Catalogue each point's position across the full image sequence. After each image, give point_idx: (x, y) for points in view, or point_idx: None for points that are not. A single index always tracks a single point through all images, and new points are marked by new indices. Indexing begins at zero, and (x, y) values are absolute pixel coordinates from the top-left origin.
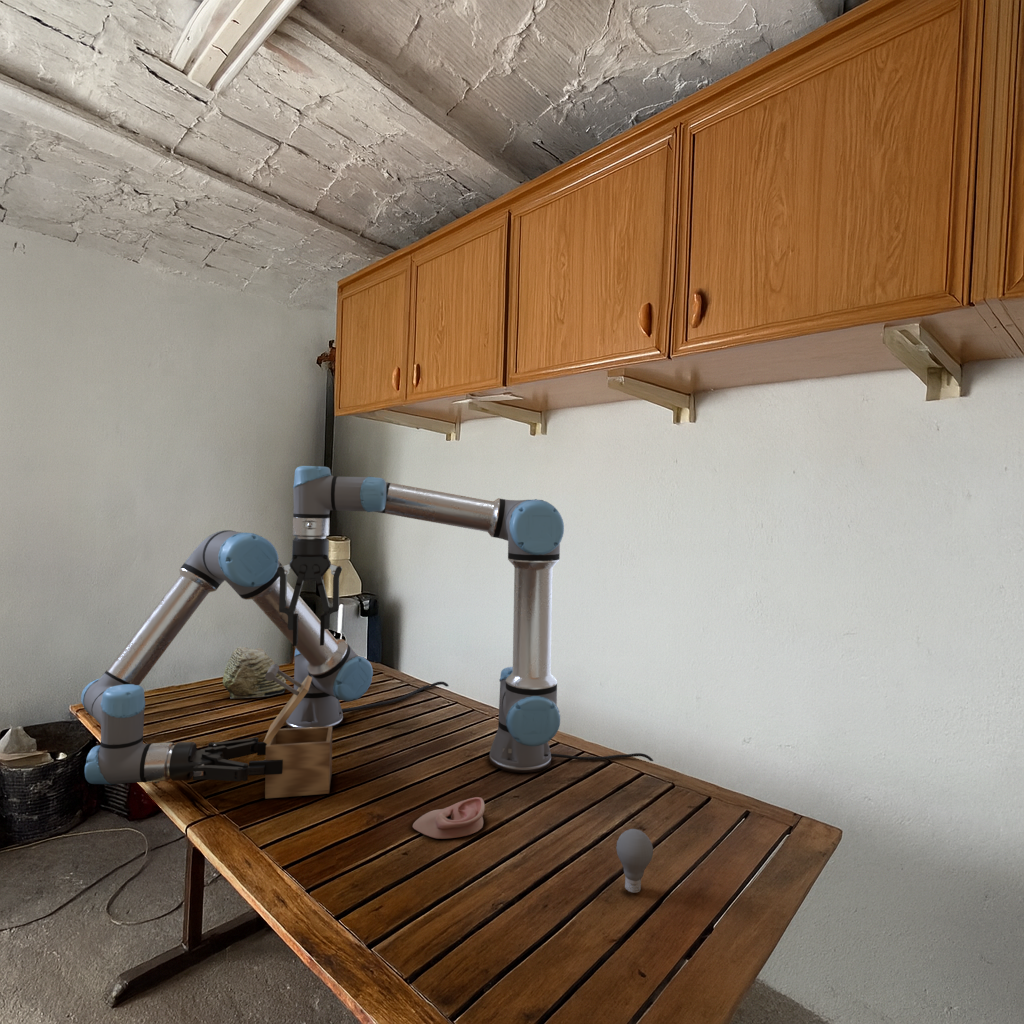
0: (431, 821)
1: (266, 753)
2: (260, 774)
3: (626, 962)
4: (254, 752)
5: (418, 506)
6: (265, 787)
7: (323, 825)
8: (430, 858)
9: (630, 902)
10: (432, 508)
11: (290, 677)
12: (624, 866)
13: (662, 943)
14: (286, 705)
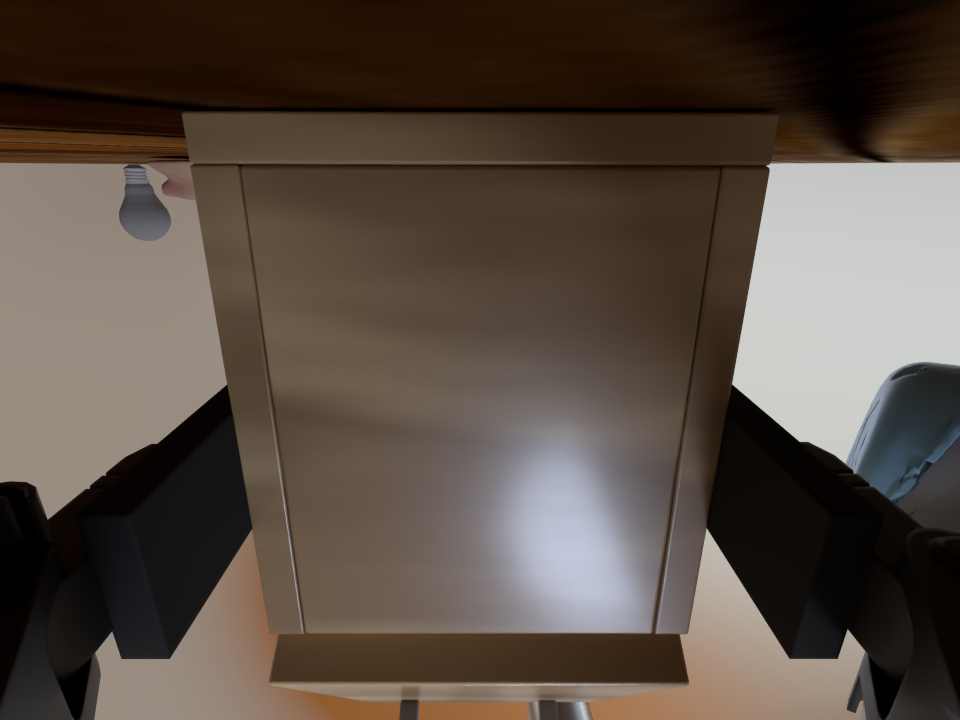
0: (190, 183)
1: (263, 577)
2: (171, 438)
3: None
4: (909, 575)
5: None
6: (208, 256)
7: (34, 144)
8: (55, 156)
9: (106, 162)
10: (529, 713)
11: None
12: (126, 201)
13: (37, 162)
14: (553, 695)
